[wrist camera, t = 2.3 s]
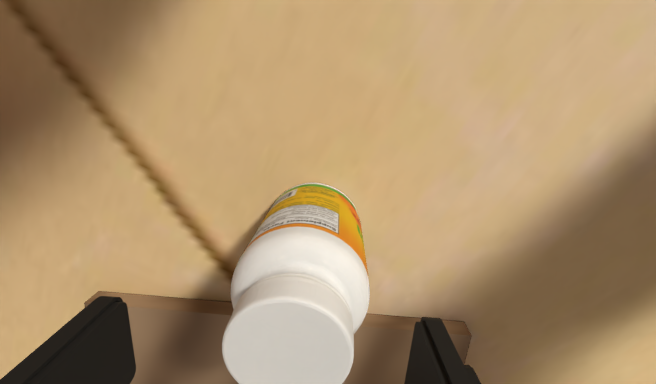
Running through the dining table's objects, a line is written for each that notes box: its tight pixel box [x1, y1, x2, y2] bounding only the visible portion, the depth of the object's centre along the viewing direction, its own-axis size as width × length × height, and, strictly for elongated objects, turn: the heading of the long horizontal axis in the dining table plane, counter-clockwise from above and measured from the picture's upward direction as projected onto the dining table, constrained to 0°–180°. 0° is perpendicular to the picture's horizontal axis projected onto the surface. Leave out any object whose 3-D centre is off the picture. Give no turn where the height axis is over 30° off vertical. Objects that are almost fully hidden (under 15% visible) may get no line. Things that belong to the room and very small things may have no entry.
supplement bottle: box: [222, 183, 370, 384], centre depth 14 cm, size 5×5×10 cm
